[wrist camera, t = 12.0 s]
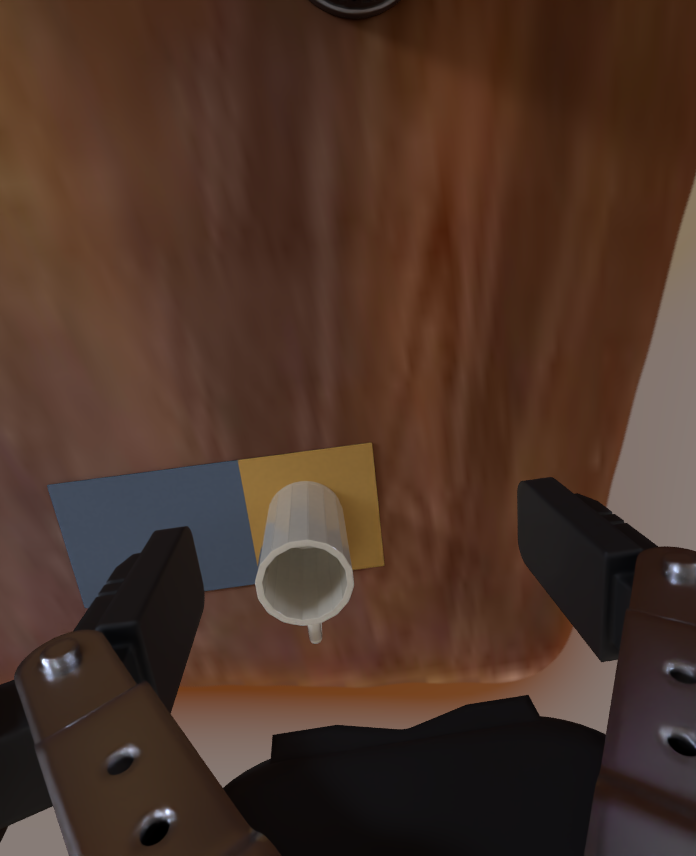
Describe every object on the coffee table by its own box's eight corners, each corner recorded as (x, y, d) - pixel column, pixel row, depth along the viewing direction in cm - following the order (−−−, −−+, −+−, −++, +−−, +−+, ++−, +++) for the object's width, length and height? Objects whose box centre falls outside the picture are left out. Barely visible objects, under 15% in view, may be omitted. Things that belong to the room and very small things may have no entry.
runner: (48, 484, 38) (47, 485, 38) (371, 442, 39) (372, 443, 39) (85, 606, 41) (84, 608, 41) (384, 564, 42) (384, 565, 42)
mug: (261, 486, 39) (248, 547, 30) (338, 476, 39) (348, 534, 30) (278, 584, 42) (271, 669, 33) (350, 574, 42) (362, 655, 33)
